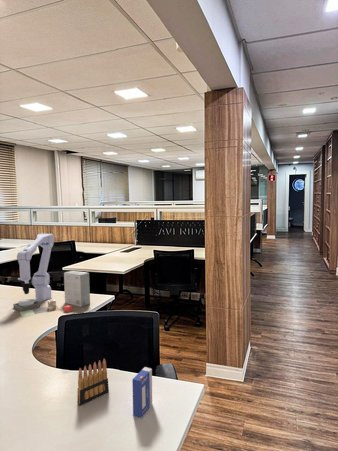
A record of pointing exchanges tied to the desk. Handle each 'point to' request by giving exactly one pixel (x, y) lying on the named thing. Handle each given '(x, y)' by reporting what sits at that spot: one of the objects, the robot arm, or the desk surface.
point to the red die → (67, 308)
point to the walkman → (142, 392)
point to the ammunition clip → (92, 383)
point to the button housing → (26, 306)
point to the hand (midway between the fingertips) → (25, 292)
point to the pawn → (51, 304)
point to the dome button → (26, 302)
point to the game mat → (37, 311)
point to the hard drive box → (77, 288)
